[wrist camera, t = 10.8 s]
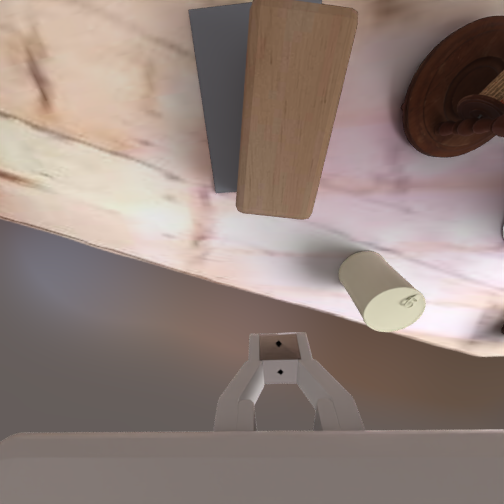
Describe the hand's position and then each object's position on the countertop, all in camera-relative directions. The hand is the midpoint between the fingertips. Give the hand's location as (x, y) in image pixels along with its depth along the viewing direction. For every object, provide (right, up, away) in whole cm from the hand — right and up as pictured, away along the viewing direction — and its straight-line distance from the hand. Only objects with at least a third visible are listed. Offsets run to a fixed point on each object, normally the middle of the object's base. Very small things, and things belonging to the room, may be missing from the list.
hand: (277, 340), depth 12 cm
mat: (0, +25, +19) cm, 32 cm away
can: (+21, +1, +32) cm, 38 cm away
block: (+1, +11, +20) cm, 23 cm away
